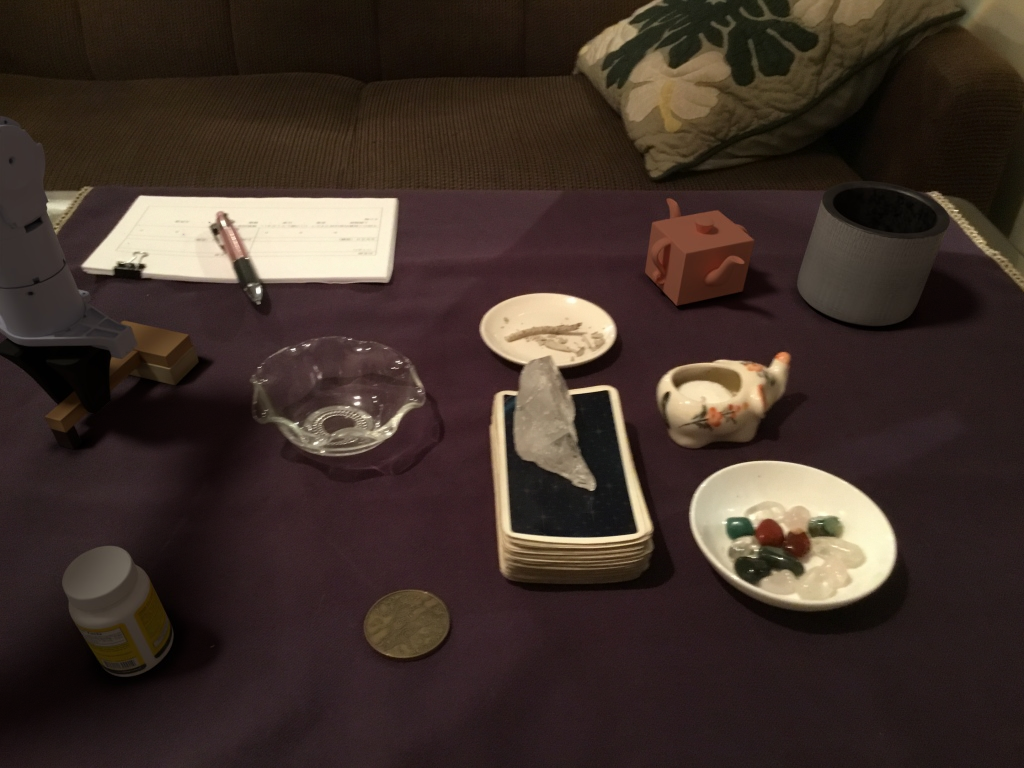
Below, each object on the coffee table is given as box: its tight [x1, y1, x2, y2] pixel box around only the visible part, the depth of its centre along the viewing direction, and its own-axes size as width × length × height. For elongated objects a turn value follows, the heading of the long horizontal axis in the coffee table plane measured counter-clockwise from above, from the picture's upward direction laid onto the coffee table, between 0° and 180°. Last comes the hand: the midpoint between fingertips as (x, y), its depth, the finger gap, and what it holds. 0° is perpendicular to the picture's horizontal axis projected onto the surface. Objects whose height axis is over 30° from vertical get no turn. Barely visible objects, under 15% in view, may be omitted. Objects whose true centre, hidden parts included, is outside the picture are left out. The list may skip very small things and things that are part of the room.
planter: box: [796, 180, 951, 327], centre depth 84 cm, size 13×12×11 cm
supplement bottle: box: [61, 545, 175, 678], centre depth 51 cm, size 5×5×8 cm
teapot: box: [644, 197, 755, 307], centre depth 86 cm, size 12×15×8 cm
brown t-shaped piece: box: [44, 320, 200, 450], centre depth 72 cm, size 8×14×3 cm, turn 163°
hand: (84, 402), depth 69 cm, fingers open, 3 cm apart
